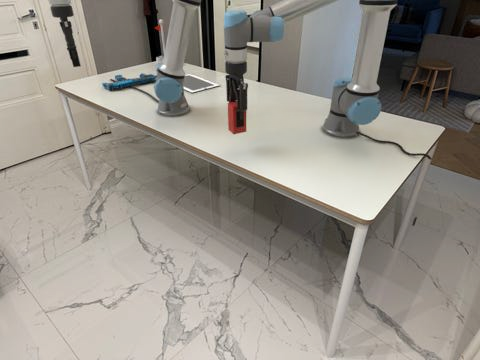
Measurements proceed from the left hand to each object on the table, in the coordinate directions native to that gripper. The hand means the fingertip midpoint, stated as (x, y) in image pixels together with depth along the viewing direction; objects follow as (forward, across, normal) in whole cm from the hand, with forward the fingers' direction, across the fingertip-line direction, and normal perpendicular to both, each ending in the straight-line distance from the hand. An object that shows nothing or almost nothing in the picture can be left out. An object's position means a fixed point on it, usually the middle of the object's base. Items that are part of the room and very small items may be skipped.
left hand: (75, 62), depth 140 cm
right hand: (+17, +52, +49) cm, 73 cm away
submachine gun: (+28, -58, +30) cm, 71 cm away
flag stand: (+28, -86, +61) cm, 109 cm away
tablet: (+28, -39, +62) cm, 79 cm away
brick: (+20, +52, +49) cm, 74 cm away
